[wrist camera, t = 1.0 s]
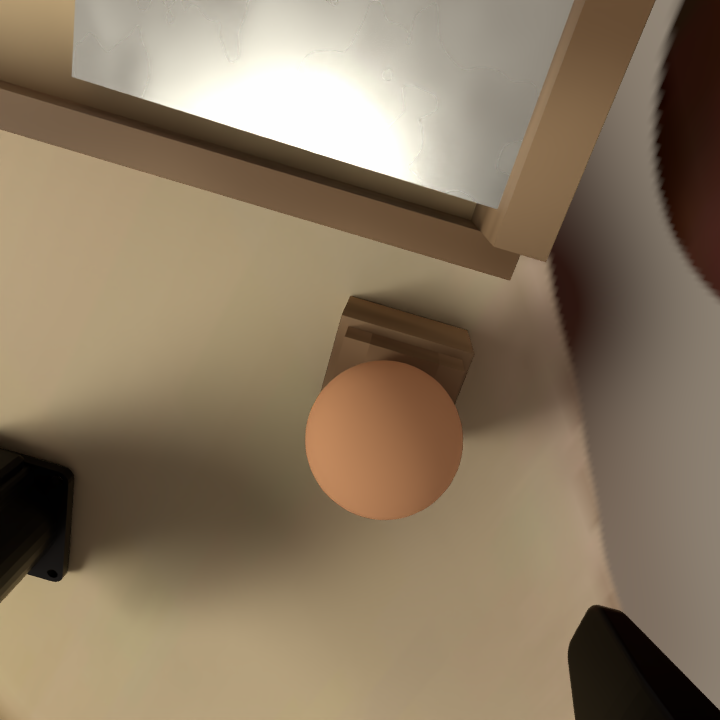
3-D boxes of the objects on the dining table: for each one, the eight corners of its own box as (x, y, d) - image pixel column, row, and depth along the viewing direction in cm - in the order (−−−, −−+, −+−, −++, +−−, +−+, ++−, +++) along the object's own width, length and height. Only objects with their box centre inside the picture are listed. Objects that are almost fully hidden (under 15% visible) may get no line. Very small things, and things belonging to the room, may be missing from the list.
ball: (431, 477, 17) (436, 575, 13) (306, 440, 17) (272, 527, 13) (476, 362, 16) (498, 434, 12) (338, 321, 16) (312, 379, 12)
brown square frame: (428, 431, 20) (431, 482, 17) (321, 400, 20) (304, 445, 17) (467, 330, 19) (477, 365, 16) (350, 295, 19) (337, 324, 15)
